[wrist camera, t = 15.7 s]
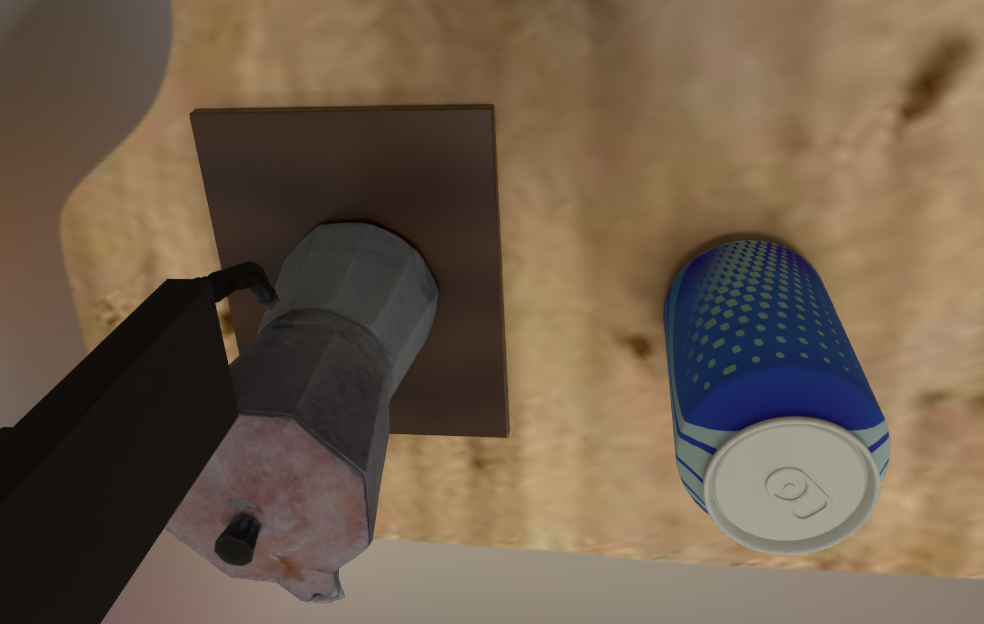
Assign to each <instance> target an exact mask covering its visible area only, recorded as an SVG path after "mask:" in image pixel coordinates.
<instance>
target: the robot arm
mask: <svg viewBox="0 0 984 624" xmlns="http://www.w3.org/2000/svg"><path fill="white" fill-rule="evenodd" d="M238 417H239V411H238V407H237V402H236V397H235V393H234V388H233V383H232V379H231V374H230V370H229V365H228V360H227V356H226V351H225V346H224V342H223V337H222V333H221V328H220V323H219V319H218V314H217V309H216V305H215V300H214V296H213V291H212V286H211V282H210V279H167V280H166V281H165V282H164V283H163V284H162V285H161V286H159V287H158V288H157V289H156V290H155V291H154V292H153V293H152V294H151V295H150V296H149V297H148V298H147V299H146V300H145V301H144V302H143V303H142V304H141V305H140V306H139V307H138V308H137V309H136V310H134V311H133V312H132V313H131V314H130V315H129V316H128V317H127V318H126V319H125V320H124V321H123V322H122V323H121V324H120V325H119V326H118V327H117V328H116V329H115V330H114V331H113V332H112V333H111V334H109V335H108V336H107V337H106V338H105V339H104V340H103V341H102V342H101V343H100V344H99V345H98V346H97V347H96V348H95V349H94V350H93V351H92V352H91V353H90V354H89V355H88V356H87V357H86V358H85V359H84V360H82V361H81V362H80V363H79V364H78V365H77V366H76V367H75V368H74V369H73V370H72V371H71V372H70V373H69V374H68V375H67V376H66V377H65V378H64V379H63V380H62V381H60V383H58V384H57V385H56V386H55V387H54V388H53V389H52V390H51V391H50V392H49V393H48V394H47V395H46V396H45V397H44V398H43V399H42V400H41V401H40V402H39V403H38V404H37V405H35V407H33V408H32V409H31V410H30V411H29V412H28V413H27V414H26V415H25V416H24V417H23V418H22V419H21V420H20V421H19V422H18V423H17V424H16V425H15V426H14V427H3V428H1V429H0V624H100V623H101V622H102V620H103V619H104V617H105V616H106V614H107V613H108V611H109V610H110V608H111V607H112V605H113V604H114V602H115V601H116V599H117V598H118V596H119V595H120V593H121V592H122V590H123V589H124V587H125V586H126V584H127V583H128V581H129V580H130V578H131V577H132V575H133V574H134V572H135V571H136V569H137V568H138V566H139V565H140V563H141V562H142V560H143V559H144V557H145V556H146V554H147V553H148V551H149V550H150V548H151V547H152V545H153V544H154V542H155V541H156V539H157V538H158V536H159V535H160V534H161V532H162V531H163V529H164V528H165V526H166V525H167V523H168V522H169V520H170V519H171V517H172V516H173V514H174V513H175V511H176V510H177V508H178V507H179V505H180V504H181V502H182V501H183V499H184V498H185V496H186V495H187V493H188V492H189V490H190V489H191V487H192V486H193V484H194V483H195V481H196V480H197V478H198V477H199V475H200V474H201V472H202V471H203V469H204V468H205V466H206V465H207V463H208V462H209V460H210V459H211V457H212V456H213V454H214V453H215V451H216V450H217V448H218V447H219V445H220V444H221V442H222V441H223V439H224V438H225V436H226V435H227V433H228V432H229V430H230V429H231V427H232V426H233V424H234V423H235V421H236V420H237V418H238Z"/></svg>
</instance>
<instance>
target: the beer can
mask: <svg viewBox="0 0 984 624" xmlns="http://www.w3.org/2000/svg"><path fill="white" fill-rule="evenodd" d="M664 329H665V340H666V351H667V362H668V374H669V385H670V396H671V408H672V419H673V430H674V442H675V453H676V462H677V467H678V471H679V474H680V477H681V480H682V482H683V484H684V486H685V488H686V490H687V491H688V493H689V494H690V496H691V497H692V498H693V499H694V501H695V502H696V503H697V504H698V505H699V506H700V507H701V508H702V509H703V510H704V511H705V512H706V513H708V514H709V515H710V517H711V519H712V520H713V522H714V523H715V524H716V526H717V527H718V528H719V529H720V530H721V531H722V532H723V533H724V534H726V535H727V536H728V537H729V538H731V539H732V540H734V541H735V542H737V543H739V544H741V545H743V546H745V547H747V548H750V549H753V550H756V551H760V552H764V553H769V554H776V555H799V554H807V553H812V552H816V551H820V550H823V549H826V548H829V547H831V546H834V545H836V544H838V543H840V542H842V541H843V540H845V539H847V538H848V537H850V536H851V535H852V534H854V533H855V532H856V531H857V530H858V529H860V528H861V527H862V525H863V524H864V523H865V522H866V521H867V520H868V518H869V517H870V515H871V514H872V512H873V511H874V508H875V506H876V504H877V501H878V498H879V493H880V483H881V481H882V479H883V477H884V475H885V472H886V469H887V466H888V461H889V455H890V437H889V432H888V427H887V424H886V421H885V418H884V416H883V414H882V412H881V409H880V407H879V405H878V403H877V401H876V398H875V396H874V394H873V392H872V390H871V387H870V385H869V383H868V381H867V379H866V377H865V374H864V372H863V370H862V368H861V366H860V363H859V361H858V359H857V357H856V355H855V352H854V350H853V348H852V346H851V344H850V341H849V339H848V337H847V335H846V333H845V330H844V328H843V326H842V324H841V322H840V320H839V317H838V315H837V313H836V311H835V309H834V306H833V304H832V302H831V300H830V298H829V295H828V293H827V291H826V289H825V287H824V284H823V282H822V280H821V278H820V277H819V275H818V273H817V272H816V271H815V269H814V268H813V267H812V266H811V265H810V264H809V263H808V262H807V261H806V260H805V259H804V258H803V257H801V256H800V255H798V254H797V253H795V252H794V251H792V250H790V249H788V248H786V247H783V246H781V245H778V244H774V243H770V242H765V241H755V240H746V241H736V242H731V243H727V244H723V245H720V246H717V247H714V248H712V249H710V250H708V251H706V252H704V253H702V254H700V255H699V256H697V257H696V258H695V259H693V260H692V261H691V262H690V263H688V264H687V265H686V266H685V267H684V268H683V269H682V270H681V272H680V273H679V274H678V275H677V277H676V278H675V280H674V281H673V283H672V285H671V287H670V289H669V291H668V294H667V297H666V301H665V305H664Z"/></svg>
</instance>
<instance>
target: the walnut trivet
mask: <svg viewBox="0 0 984 624" xmlns="http://www.w3.org/2000/svg"><path fill="white" fill-rule="evenodd" d="M190 120H191V124H192V129H193V134H194V139H195V144H196V148H197V153H198V158H199V163H200V168H201V172H202V177H203V182H204V187H205V192H206V196H207V201H208V206H209V211H210V216H211V220H212V225H213V230H214V235H215V240H216V244H217V249H218V254H219V259H220V264H221V268H222V270H224V269H226V268H228V267H231V266H235V265H236V264H241V263H244V262H247V261H252V262H256V263H257V264H258V265H259V266H261V267H263V269H264V271H265V273H266V275H265V276H266V277H267V278H268V280H269V283H270V285H271V286H272V287H273V288H274V289H275V286H276V283H277V280H278V277H279V275H280V272H281V269H282V266H283V263H284V261H285V259H286V257H287V256H288V254H289V253H290V252H291V251H292V250H293V249H294V248H295V246H296V245H297V244H298V243H299V242H300V241H301V240H302V239H303V238H304V237H306V236H307V235H308V234H309V233H310V232H311V231H313V230H314V229H315V228H316V227H317V226H319V225H321V224H335V223H354V222H357V223H365V224H371V225H374V226H376V227H379V228H381V229H384V230H386V231H388V232H391V233H393V234H395V235H397V236H398V237H400V238H402V239H403V240H404V241H405V242H407V243H408V244H409V245H410V246H411V247H413V248H414V249H415V250H416V251H417V252H418V253H419V254H420V255H421V257H422V258H423V260H424V262H425V264H426V266H427V267H428V269H429V270H430V272H431V274H432V277H433V278H434V280H435V283H436V285H437V288H438V300H437V308H436V312H435V317H434V321H433V325H432V328H431V331H430V334H429V336H428V338H427V339H426V341H425V343H424V345H423V346H422V348H421V349H420V351H419V352H418V353H417V355H416V357H415V359H414V361H413V362H412V364H411V366H410V367H409V369H408V371H407V372H406V374H405V375H404V377H403V379H402V380H401V382H400V384H399V386H398V388H397V389H396V391H395V392H394V394H393V395H392V397H391V399H390V403H389V425H390V429H389V434H414V435H442V436H471V437H499V438H508V436H509V431H510V428H509V407H508V387H507V366H506V345H505V325H504V304H503V284H502V263H501V243H500V222H499V202H498V181H497V160H496V140H495V119H494V106H493V105H454V106H391V107H329V108H266V109H204V110H194V111H193V112H191V113H190ZM227 297H228V302H229V307H230V312H231V316H232V321H233V326H234V331H235V336H236V340H237V345H238V350H239V355H241V354H242V353H243V352H244V351H245V350H246V349H247V348H248V347H249V346H250V345H251V344H252V343H253V341H254V340H255V338H256V337H257V335H258V329H259V326H260V324H261V321H262V319H263V316H264V313H265V311H266V309H267V308H264V307H263V306H262V305H261V304H260V303H259V302H258V300H257V298H256V296H255V295H254V293H253V292H252V290H250V289H249V288H247V289H242V290H237V291H233V293H232V294H230V295H229V296H227Z"/></svg>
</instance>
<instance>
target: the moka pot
mask: <svg viewBox="0 0 984 624" xmlns="http://www.w3.org/2000/svg"><path fill="white" fill-rule="evenodd" d="M265 275H266V273H265V271H264V269H263V267H261V266H259V265H258V264H257V263H256V262H252V261H247V262H244V263H241V264H236V265H235V266H231V267H228V268H226V269H224V270H219V271H216V272H213V273H211V274H209V275H208V276H207V277H206V276H205V277H202V278H199V277H197V278H195V279H210V282H211V286H212V291H213V296H214V300H215V303H217V302H220V301H221V300H222V299H223V298H225V297H227V296H229V295H230V294H232V293H233V291H237V290H242V289H247V288H249V289H250V290H252V292H253V293H254V295H255V296H256V298H257V300H258V302H259V303H260V304H261V305H262V306H263V307H264V308H267V309H266V311H265V313H264V316H263V319H262V321H261V324H260V326H259V329H258V335H257V337H256V338H255V340H254V341H253V343H252V344H251V345H250V346H249V347H248V348H247V349H246V350H245V351H244V352H243V353H242V354H241V355H240V356H238V357H237V358H236V359H235V360H234V361H233V362H232V363H231V364H229V370H230V374H231V379H232V383H233V388H234V393H235V397H236V402H237V407H238V411H239V417H238V418H237V420H236V421H235V423H234V424H233V426H232V427H231V429H230V430H229V432H228V433H227V435H226V436H225V438H224V439H223V441H222V442H221V444H220V445H219V447H218V448H217V450H216V451H215V453H214V454H213V456H212V457H211V459H210V460H209V462H208V463H207V465H206V466H205V468H204V469H203V471H202V472H201V474H200V475H199V477H198V478H197V480H196V481H195V483H194V484H193V486H192V487H191V489H190V490H189V492H188V493H187V495H186V496H185V498H184V499H183V501H182V502H181V504H180V505H179V507H178V508H177V510H176V511H175V513H174V514H173V516H172V517H171V519H170V520H169V522H168V523H167V525H166V526H165V529H166V530H168V531H169V532H170V533H171V534H173V535H174V536H175V537H176V538H177V539H179V540H181V541H182V542H184V543H185V544H186V545H188V546H189V547H191V548H192V549H193V550H195V551H196V552H197V553H199V554H200V555H201V556H203V557H204V558H205V559H206V560H208V561H209V562H210V563H212V564H213V565H214V566H216V567H217V568H218V569H219V570H221V571H222V572H223V573H225V574H227V575H228V576H230V577H232V578H241V579H250V580H256V581H269V582H275V583H278V584H279V585H280V586H282V587H283V588H285V589H286V590H288V591H289V592H290V593H291V594H293V595H294V596H296V597H297V598H299V599H300V600H301V601H305V602H309V601H313V602H314V603H320V604H326V603H329V602H333V601H338V600H341V599H343V598H344V597H345V596H344V592H343V589H342V587H341V584H340V580H339V568H340V567H341V566H343V565H344V564H346V563H348V562H349V561H351V560H352V559H354V558H355V557H357V556H358V555H359V554H361V553H362V552H363V551H364V550H366V549H367V548H368V546H369V545H370V544H371V542H372V540H373V533H374V527H375V520H376V513H377V505H378V498H379V491H380V484H381V478H382V473H383V467H384V461H385V455H386V449H387V443H388V436H389V429H390V425H389V403H390V399H391V397H392V395H393V394H394V392H395V391H396V389H397V388H398V386H399V384H400V382H401V380H402V379H403V377H404V375H405V374H406V372H407V371H408V369H409V367H410V366H411V364H412V362H413V361H414V359H415V357H416V355H417V353H418V352H419V351H420V349H421V348H422V346H423V345H424V343H425V341H426V339H427V338H428V336H429V334H430V331H431V328H432V325H433V321H434V317H435V312H436V308H437V300H438V288H437V285H436V283H435V280H434V278H433V277H432V274H431V272H430V270H429V269H428V267H427V266H426V264H425V262H424V260H423V258H422V257H421V255H420V254H419V253H418V252H417V251H416V250H415V249H414V248H413V247H411V246H410V245H409V244H408V243H407V242H405V241H404V240H403V239H402V238H400V237H398V236H397V235H395V234H393V233H391V232H388V231H386V230H384V229H381V228H379V227H376V226H374V225H371V224H365V223H357V222H354V223H335V224H321V225H319V226H317V227H316V228H315V229H314V230H313V231H311V232H310V233H309V234H308V235H307V236H306V237H304V238H303V239H302V240H301V241H300V242H299V243H298V244H297V245H296V246H295V248H294V249H293V250H292V251H291V252H290V253H289V254H288V256H287V257H286V259H285V261H284V263H283V266H282V269H281V272H280V275H279V277H278V280H277V283H276V286H275V289H274V288H273V287H272V286H271V285H270V283H269V280H268V278H267V277H266V276H265Z"/></svg>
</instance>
